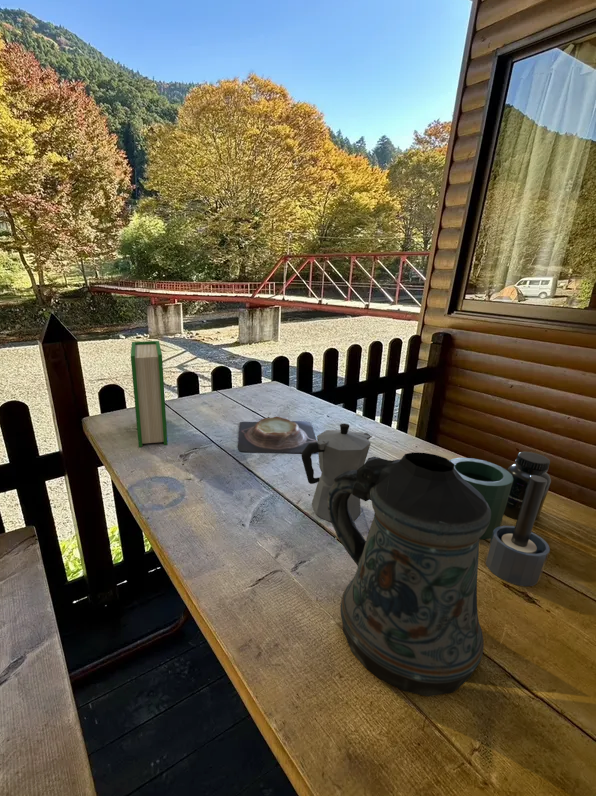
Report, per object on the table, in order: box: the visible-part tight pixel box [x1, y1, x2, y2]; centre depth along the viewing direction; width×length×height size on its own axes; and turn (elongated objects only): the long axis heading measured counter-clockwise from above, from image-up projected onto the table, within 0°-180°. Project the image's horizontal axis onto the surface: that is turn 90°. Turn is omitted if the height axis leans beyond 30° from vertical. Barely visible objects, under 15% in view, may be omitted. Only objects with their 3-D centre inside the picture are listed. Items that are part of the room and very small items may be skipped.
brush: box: [501, 475, 547, 554], centre depth 61 cm, size 4×4×16 cm
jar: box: [448, 457, 513, 540], centre depth 73 cm, size 10×10×11 cm
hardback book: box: [130, 340, 168, 448], centre depth 110 cm, size 18×7×24 cm, turn 11°
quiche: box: [237, 416, 317, 454], centre depth 111 cm, size 21×20×4 cm
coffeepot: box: [301, 423, 373, 523], centre depth 76 cm, size 15×9×18 cm, turn 115°
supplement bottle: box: [503, 451, 552, 522], centre depth 76 cm, size 7×7×12 cm
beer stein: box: [328, 452, 491, 697], centre depth 49 cm, size 16×19×25 cm
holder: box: [485, 525, 551, 587], centre depth 63 cm, size 7×7×6 cm
